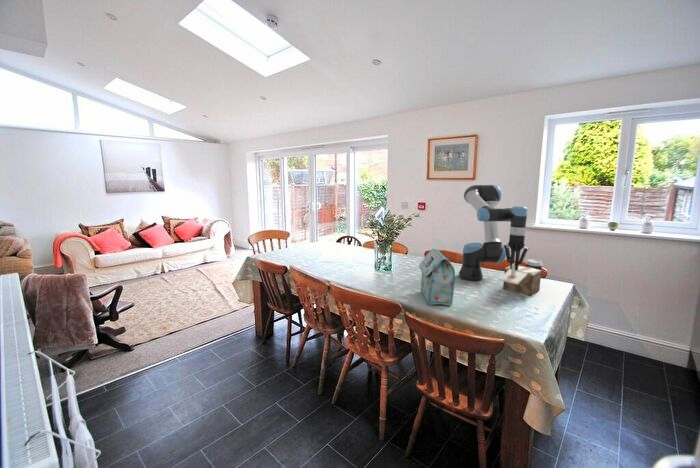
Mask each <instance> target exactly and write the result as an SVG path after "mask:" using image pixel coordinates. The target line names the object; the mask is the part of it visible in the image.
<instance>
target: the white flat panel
mask: <svg viewBox="0 0 700 468" xmlns="http://www.w3.org/2000/svg"><path fill="white" fill-rule="evenodd" d="M511 271H512V270H508V271H507V272H506V273H505V274H504V273H503V274H502V275H501V277H499V278H498V280H499V281H501V282H503V283H504V282H508V283H512V284H516V285H518V284H519V283H520V282H521V281H522V280H523V279H524V278H525V277H526V276H527V273H522V272H518V271H516V275H515V276H512V275H511Z"/></svg>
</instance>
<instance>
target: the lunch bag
mask: <svg viewBox="0 0 700 468" xmlns="http://www.w3.org/2000/svg"><path fill="white" fill-rule="evenodd" d="M418 268H419V270H420V271H421V281H420V291H421V293H422V295H423V297H424V298H425V300H426V302H427V304H428V305H430V306H431V305H432V306H433V305H444V306H448V307H449V306H452V305H453V302H454V301H453V300H454V290H455V283H456V282H455V281H456V270H455V267H454V266H453V264H452V262H451V261H450V260H449V259H448V258H447V257H446V256H445V255H444V254H443V253H441V251H440V250H439V249H436V248H431V250H429V251H428V253H427V254H426V255H425V256H424V258H423V259H422V260H421V261H420V263H419V266H418Z"/></svg>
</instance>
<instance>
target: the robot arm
mask: <svg viewBox="0 0 700 468" xmlns="http://www.w3.org/2000/svg"><path fill="white" fill-rule="evenodd" d="M463 199H464V200H465V202H466V203H467V204H470V205H471V207H472V208H473V209H474V210H475V211H476V218H477V220H478V221H479V222H483V227H484V242H482V243H480V242H469V243H465V244H464V245H463V248H462V261H461V262H462V263H461V264H462V265H461V268H460V270H459V272H458V278H460V279H462V280H464V281H471V282H478V281H479V282H480V281H482V280H483V277H484V275H483V271H482V268H481V267H482V266H481V265H482V264H500V263H503V262H504V261H505V260H506V261H507V263H510V264H509V266H510V269H512V271H511V275H512V276H515V275H516V270H518V266H520V265H522V264H523V262H524V260H525V257H526V254H527V253H528V251H530V249H529V247H527V246H526V244H525V238H526V235H525V234H526V230H527V229H526V227H527V218H528V217H527V216H528V207H526V206H522V205H521V206H519V205H518V206H515V205H514V206H512V207H506V208H497V205H499V202H500V201H501V199H502V191H501V188H500V186H498V185H495V184H494V185H493V184H474V185H471V186H469V187H467V188H466V189H465V191H464V193H463ZM499 222H509V223H510V225H509V226H510V227H509V233H510V234H509V239H508V243H507V244H503V242H502V241H501V240H500V235H499ZM521 250H522V253H521Z"/></svg>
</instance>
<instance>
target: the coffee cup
mask: <svg viewBox="0 0 700 468" xmlns="http://www.w3.org/2000/svg"><path fill="white" fill-rule="evenodd" d="M543 264H544V263H543V262H542V260H539V259H531V258H529V259H527V260H526V261H525V267H528V268H533V269H538V270H542V268H543V266H544V265H543Z"/></svg>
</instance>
